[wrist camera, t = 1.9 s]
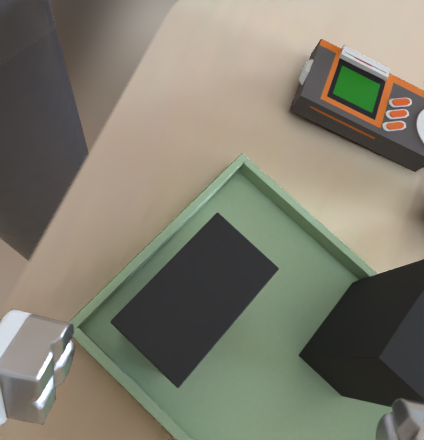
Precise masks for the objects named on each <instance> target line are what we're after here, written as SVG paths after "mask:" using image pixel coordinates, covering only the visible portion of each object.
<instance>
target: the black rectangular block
mask: <svg viewBox="0 0 424 440" xmlns="http://www.w3.org/2000/svg"><path fill="white" fill-rule="evenodd" d="M299 357H301V358H302V359H303V360H304V361H305V362H306V363H307V364H308V365H309V366H310V367H311V368H312V369H313V370H314V371H315V372H317V373H318V374H319V375H320V376H321V377H322V378H323V379H324V380H325V381H326V382H327V383H328V384H329V385H330V386H332V387H333V388H334V389H335V390H336V391H337V392H338V393H339V394H340V395H341V396H344V397H348V398H352V399H357V400H361V401H366V402H370V403H375V404H379V405H383V406H388V407H391V405H392V403H393V402H394V401H395V400H396V399H400V398H403V399H407V400H412V401H417V402H422V403H424V260H421V261H417V262H414V263H411V264H408V265H405V266H402V267H399V268H396V269H392V270H389V271H386V272H383V273H380V274H377V275H374V276H371V277H367V278H364V279H361V280H358V281H355V282H353V283H352V284H351V285H350V287H349V288H348V289H347V291H346V292H345V293H344V295H343V296H342V297H341V299H340V300H339V301H338V303H337V304H336V305H335V307H334V308H333V309H332V311H331V312H330V313H329V315H328V316H327V317H326V319H325V320H324V321H323V323H322V324H321V325H320V327H319V328H318V329H317V331H316V332H315V333H314V335H313V336H312V337H311V339H310V340H309V341H308V343H307V344H306V346H305V347H304V348H303V350H302V351H301V352H300V354H299Z"/></svg>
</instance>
